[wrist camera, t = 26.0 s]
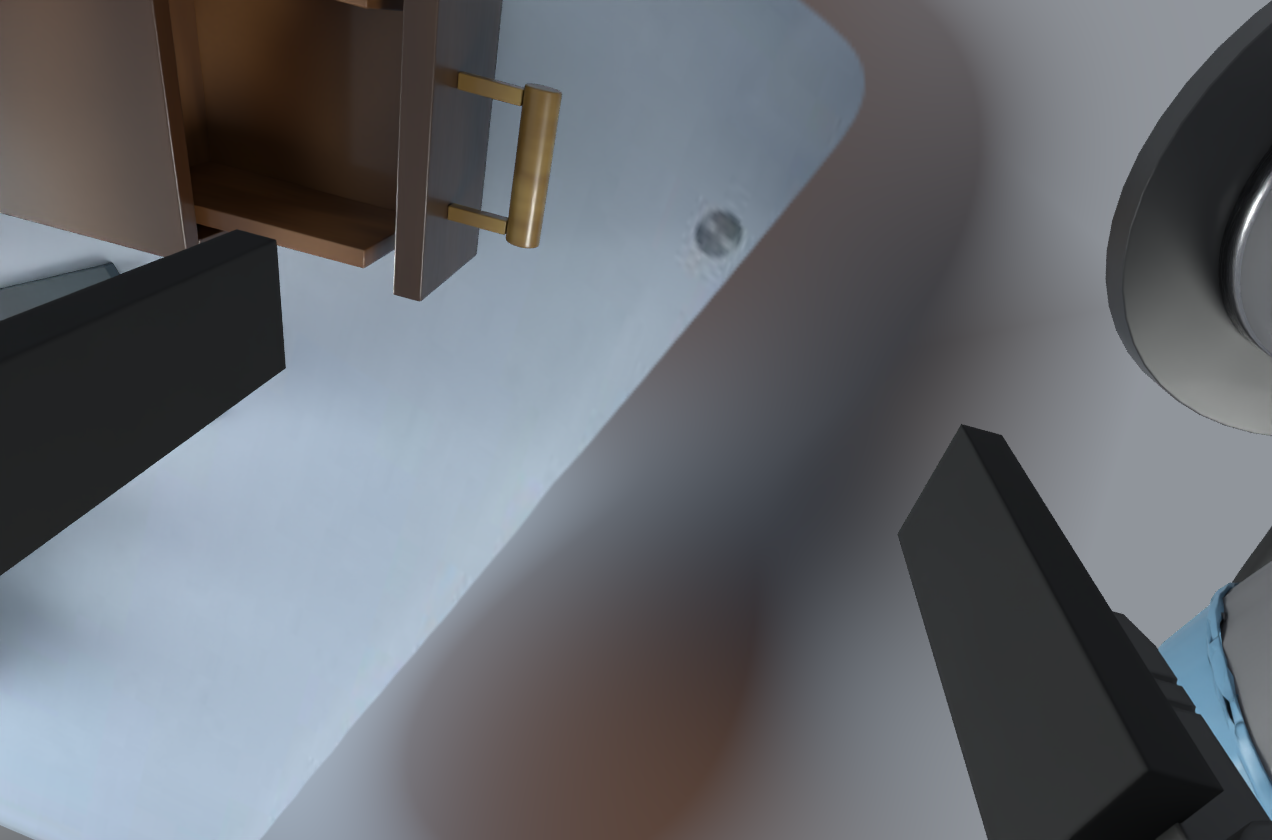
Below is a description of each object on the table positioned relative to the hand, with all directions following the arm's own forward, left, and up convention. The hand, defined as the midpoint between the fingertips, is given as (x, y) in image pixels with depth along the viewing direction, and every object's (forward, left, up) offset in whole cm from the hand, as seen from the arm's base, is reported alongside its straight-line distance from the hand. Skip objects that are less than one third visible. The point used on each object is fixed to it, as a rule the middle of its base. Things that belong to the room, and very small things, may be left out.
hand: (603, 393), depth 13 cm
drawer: (+6, +12, -20) cm, 24 cm away
